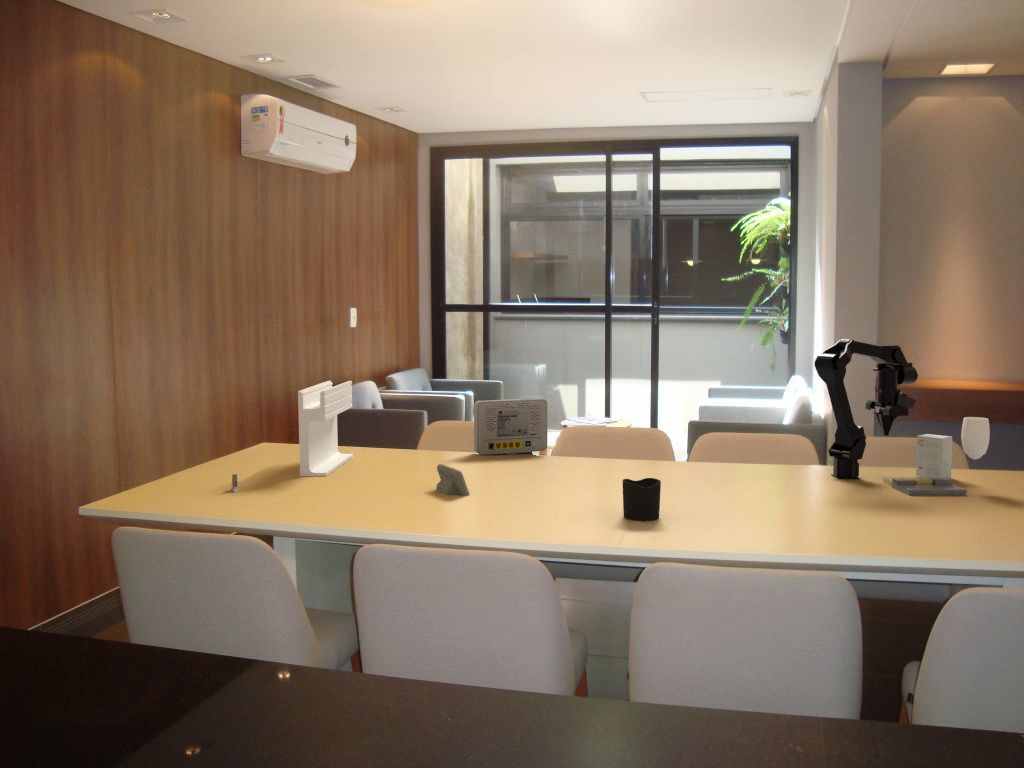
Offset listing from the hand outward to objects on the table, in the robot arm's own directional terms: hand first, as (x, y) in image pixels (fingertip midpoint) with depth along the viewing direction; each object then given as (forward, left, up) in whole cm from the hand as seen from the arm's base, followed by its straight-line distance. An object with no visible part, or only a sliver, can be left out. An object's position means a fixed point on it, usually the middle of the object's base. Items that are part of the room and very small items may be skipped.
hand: (885, 435), depth 295 cm
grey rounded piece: (+14, -27, -12) cm, 33 cm away
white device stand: (-174, +10, -12) cm, 175 cm away
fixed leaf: (0, -31, -12) cm, 33 cm away
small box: (+12, -8, -12) cm, 19 cm away
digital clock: (-133, -30, -12) cm, 137 cm away
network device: (-115, +37, -12) cm, 122 cm away
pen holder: (-85, -58, -12) cm, 104 cm away
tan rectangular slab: (0, -20, -12) cm, 23 cm away
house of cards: (-195, -30, -13) cm, 198 cm away
